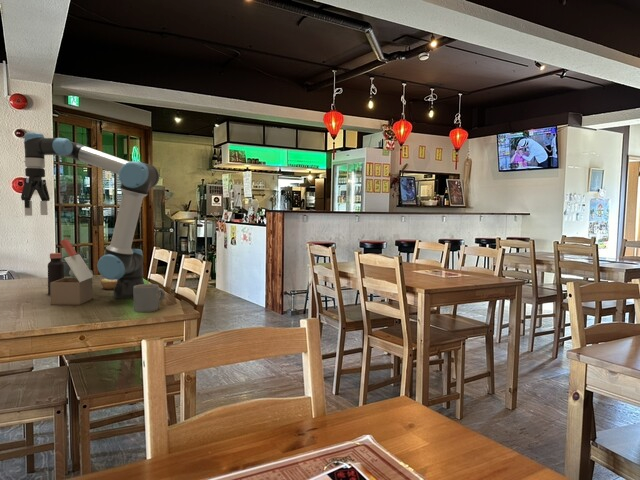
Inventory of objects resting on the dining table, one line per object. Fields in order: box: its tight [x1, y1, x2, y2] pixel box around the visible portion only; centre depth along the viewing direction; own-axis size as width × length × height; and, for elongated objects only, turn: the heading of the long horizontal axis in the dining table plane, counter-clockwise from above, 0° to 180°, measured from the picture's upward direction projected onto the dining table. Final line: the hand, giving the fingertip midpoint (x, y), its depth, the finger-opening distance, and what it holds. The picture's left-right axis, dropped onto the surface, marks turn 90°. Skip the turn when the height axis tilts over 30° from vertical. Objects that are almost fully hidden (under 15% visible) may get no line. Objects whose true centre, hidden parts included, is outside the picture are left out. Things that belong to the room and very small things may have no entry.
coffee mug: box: [133, 283, 166, 313], centre depth 192 cm, size 13×10×10 cm
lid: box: [60, 238, 95, 282], centre depth 202 cm, size 20×14×2 cm
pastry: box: [100, 278, 117, 291], centre depth 238 cm, size 12×12×9 cm
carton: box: [50, 277, 93, 306], centre depth 203 cm, size 12×14×10 cm
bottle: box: [47, 252, 65, 296], centre depth 219 cm, size 7×7×20 cm
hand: (36, 215), depth 204 cm, fingers open, 13 cm apart
